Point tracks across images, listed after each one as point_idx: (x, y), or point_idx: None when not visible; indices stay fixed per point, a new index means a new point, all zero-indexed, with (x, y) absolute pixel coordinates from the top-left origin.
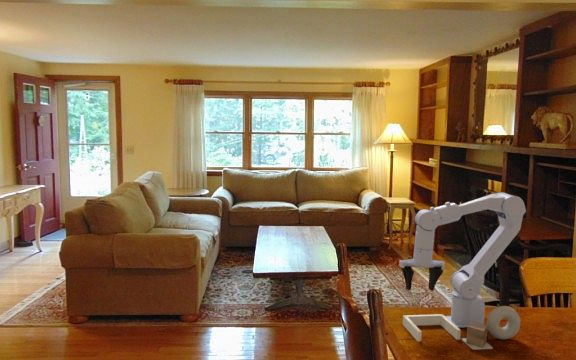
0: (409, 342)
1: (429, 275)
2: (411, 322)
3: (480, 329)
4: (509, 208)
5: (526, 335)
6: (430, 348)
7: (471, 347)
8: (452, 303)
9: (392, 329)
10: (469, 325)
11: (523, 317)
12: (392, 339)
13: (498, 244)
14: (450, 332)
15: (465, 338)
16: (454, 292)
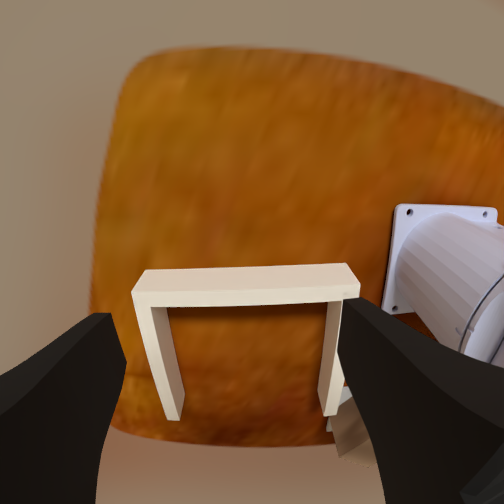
0: (145, 393)
1: (416, 374)
2: (156, 362)
3: (364, 464)
4: None
5: None
6: (202, 423)
7: (327, 427)
8: (440, 299)
9: (98, 307)
10: (352, 452)
11: None
12: None
13: None
14: (323, 358)
15: (348, 390)
16: (490, 320)
